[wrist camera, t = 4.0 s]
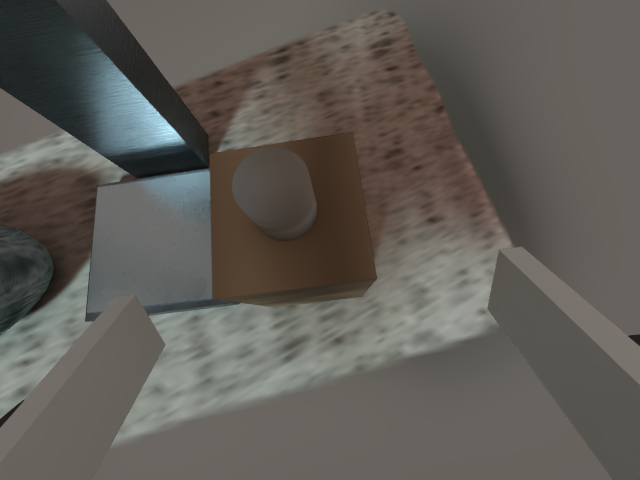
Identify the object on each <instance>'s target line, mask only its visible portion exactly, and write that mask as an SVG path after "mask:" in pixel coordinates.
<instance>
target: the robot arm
mask: <svg viewBox="0 0 640 480" xmlns="http://www.w3.org/2000/svg"><path fill="white" fill-rule="evenodd" d="M487 309H488V310H489V312H490V313H491V314H492V316H493V317H494V318H495V320H496V321H497V323H498V324H499V325H500V327H501V328H502V329H503V330H504V332H505V333H506V335H507V336H508V338H509V339H510V340H511V342H512V343H513V344H514V346H515V347H516V349H517V350H518V351H519V353H520V354H521V355H522V357H523V358H524V359H525V361H526V362H527V364H528V365H529V366H530V368H531V369H532V370H533V372H534V373H535V375H536V376H537V377H538V379H539V380H540V381H541V383H542V384H543V385H544V387H545V388H546V389H547V391H548V392H549V394H550V395H551V396H552V398H553V399H554V401H555V402H556V403H557V405H558V406H559V407H560V409H561V410H562V411H563V413H564V414H565V415H566V417H567V418H568V420H569V421H570V422H571V424H572V425H573V427H574V428H575V429H576V431H577V432H578V433H579V435H580V436H581V438H582V439H583V440H584V441H585V443H586V444H587V446H588V447H589V448H590V450H591V451H592V453H593V454H594V455H595V457H596V458H597V459H598V461H599V462H600V463H601V465H602V466H603V468H604V469H605V470H606V472H607V473H608V474H609V476H610V477H611V479H612V480H640V335H631V336H627V335H626V334H625V333H623V332H622V331H621V330H620V329H619V328H617V327H616V326H615V325H614V324H613V323H611V322H610V321H609V320H608V319H607V318H606V317H604V316H603V315H602V314H601V313H600V312H598V311H597V310H596V309H595V308H594V307H592V306H591V305H590V304H589V303H588V302H586V301H585V300H584V299H583V298H582V297H581V296H579V295H578V294H577V293H576V292H575V291H574V290H572V289H571V288H570V287H569V286H568V285H567V284H565V283H564V282H563V281H562V280H560V279H559V278H558V277H557V276H556V275H555V274H553V273H552V272H551V271H550V270H549V269H548V268H546V267H545V266H544V265H543V264H542V263H540V262H539V261H538V260H537V259H536V258H535V257H533V256H532V255H531V254H530V253H529V252H527V251H526V250H525V249H524V248H522V247H516V248H508V249H500V250H499V253H498V258H497V263H496V268H495V273H494V278H493V283H492V288H491V293H490V298H489V303H488V308H487ZM164 346H165V343H164V342H163V340H162V338H161V337H160V335H159V333H158V331H157V330H156V328H155V326H154V325H153V323H152V321H151V319H150V318H149V316H148V314H147V313H146V311H145V309H144V307H143V306H142V304H141V302H140V301H139V299H138V297H137V296H136V294H133V295H124V296H116V297H115V298H114V299H113V300H112V302H111V303H110V304H109V305H108V306H107V307H106V308H105V310H104V311H103V312H102V313H101V314H100V315H99V316H98V317H97V319H96V320H95V321H94V322H93V323H92V324H91V325H90V327H89V328H88V329H87V330H86V331H85V332H84V333H83V334H82V336H81V337H80V338H79V339H78V340H77V341H76V342H75V344H74V345H73V346H72V347H71V348H70V349H69V350H68V352H67V353H66V354H65V355H64V356H63V357H62V358H61V359H60V361H59V362H58V363H57V364H56V365H55V366H54V367H53V369H52V370H51V371H50V372H49V373H48V374H47V375H46V377H45V378H44V379H43V380H42V381H41V382H40V383H39V384H38V386H37V387H36V388H35V389H34V390H33V391H32V392H31V394H30V395H29V396H28V397H27V398H26V399H25V400H23V401H22V402H20V403H19V404H18V405H17V406H15V407H14V408H13V409H12V410H11V411H9V412H8V413H7V414H6V415H4V416H3V417H2V418H1V419H0V480H92V479H93V477H94V475H95V473H96V471H97V470H98V468H99V466H100V464H101V462H102V460H103V459H104V457H105V455H106V453H107V451H108V449H109V448H110V446H111V444H112V442H113V440H114V438H115V437H116V435H117V433H118V431H119V429H120V427H121V426H122V424H123V422H124V420H125V418H126V416H127V415H128V413H129V411H130V409H131V407H132V405H133V404H134V402H135V400H136V398H137V396H138V394H139V392H140V391H141V389H142V387H143V385H144V383H145V381H146V380H147V378H148V376H149V374H150V372H151V370H152V369H153V367H154V365H155V363H156V361H157V359H158V358H159V356H160V354H161V352H162V350H163V348H164Z"/></svg>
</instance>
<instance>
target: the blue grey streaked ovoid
mask: <svg viewBox="0 0 640 480" xmlns="http://www.w3.org/2000/svg"><path fill="white" fill-rule="evenodd" d="M53 270H54V268H53V261H52V258H51V255H50V254H49V252H48V250H47V249H46V248H45V246H44V245H43V244H42V243H40V242H39V241H38V240H36V239H35V238H33V237H31V236H29V235H27V234H25V233H24V232H22V231H20V230H18V229H15V228H11V227H7V226H4V225H0V335H1V334H2V333H4V332H5V331H7V330H8V329H10V328H11V327H12V326H13V325H14V324H15V323H17V322H18V321H19V320H20V319H21V318H22V317H24V316H25V315H26V314H27V313H28V312H29V311H30V309H31V308H32V307H33V306H34V305H35V304H36V303H37V302H38V300H39V299H40V298H41V297H42V296H43V294H44V293H45V292H46V290H47V287H48V285H49V283H50V280H51V278H52V275H53Z"/></svg>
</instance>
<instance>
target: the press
mask: <svg viewBox="0 0 640 480" xmlns="http://www.w3.org/2000/svg"><path fill="white" fill-rule="evenodd" d="M0 88H1V89H3V90H4V91H6V92H7V93H9V94H10V95H12V96H13V97H15V98H17V99H18V100H19V101H21V102H23V103H24V104H25V105H27V106H29V107H30V108H32V109H33V110H35V111H36V112H38V113H39V114H41V115H42V116H44V117H45V118H47V119H48V120H50V121H51V122H53V123H54V124H56V125H57V126H59V127H60V128H62V129H63V130H65V131H66V132H68V133H69V134H71V135H72V136H74V137H75V138H77V139H78V140H80V141H81V142H83V143H84V144H86V145H87V146H89V147H90V148H92V149H93V150H95V151H96V152H98V153H99V154H101V155H102V156H104V157H105V158H107V159H108V160H110V161H111V162H113V163H115V164H116V165H118V166H119V167H121V168H122V169H124V170H125V171H127V172H128V173H130V174H131V175H133V176H134V177H136V178H142V179H135V180H128V181H122V182H115V183H108V184H101V185H97V194H96V205H95V217H94V228H93V239H92V250H91V262H90V273H89V284H88V295H87V307H86V318H85V322H89V321H95V320H96V319H97V317H98V316H99V315H100V314H101V313H102V312H103V311H104V310H105V308H106V307H107V306H108V305H109V304H110V303H111V302H112V300H113V299H114V298H115V297H116V296H124V295H133V294H136V296H137V297H138V299H139V301H140V302H141V304H142V306H143V307H144V309H145V311H146V313H147V314H148V316H149V315H157V314H165V313H173V312H181V311H189V310H197V309H205V308H213V307H221V306H229V305H238V304H239V303H238V302H231V301H223V300H215V299H212V259H211V209H210V168H209V150H208V134H207V133H206V132H205V130H204V129H203V128H202V126H201V125H200V124H199V122H198V121H197V120H196V118H195V117H194V116H193V114H192V113H191V112H190V110H189V109H188V108H187V106H186V105H185V104H184V102H183V101H182V100H181V98H180V97H179V96H178V94H177V93H176V92H175V90H174V89H173V88H172V87H171V85H170V84H169V83H168V81H167V80H166V79H165V77H164V76H163V75H162V73H161V72H160V71H159V69H158V68H157V67H156V65H155V64H154V63H153V61H152V60H151V59H150V57H149V56H148V55H147V53H146V52H145V51H144V49H143V48H142V47H141V45H140V44H139V43H138V41H137V40H136V39H135V37H134V36H133V35H132V34H131V32H130V31H129V30H128V28H127V27H126V26H125V25H124V23H123V22H122V20H121V19H120V18H119V16H118V15H117V14H116V12H115V11H114V10H113V8H112V7H111V6H110V5H109V3H108V2H107V1H106V0H0ZM203 168H209V169H203ZM196 169H202V170H196ZM190 170H196V171H190ZM183 171H189V172H183ZM176 172H182V173H176ZM169 173H175V174H169ZM163 174H169V175H163ZM156 175H162V176H156ZM149 176H155V177H149ZM143 177H148V178H143Z"/></svg>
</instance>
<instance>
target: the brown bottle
mask: <svg viewBox="0 0 640 480" xmlns="http://www.w3.org/2000/svg"><path fill="white" fill-rule="evenodd" d="M209 158H210V209H211V259H212V299H215V300H223V301H231V302H238V303H246V304H254V305H261V306H269V307H281V306H289V305H298V304H306V303H314V302H322V301H330V300H338V299H346V298H354V297H362V295H363V294H364V293H365V292H366V291H367V290H368V288H369V287H370V286H371V285H372V284H373V282H374V281H375V280H376V279H377V276H376V270H375V264H374V258H373V252H372V246H371V240H370V234H369V228H368V222H367V216H366V210H365V204H364V198H363V192H362V186H361V180H360V174H359V168H358V162H357V156H356V150H355V144H354V138H353V132H350V133H343V134H337V135H330V136H323V137H317V138H310V139H303V140H297V141H290V142H283V143H277V144H270V145H264V146H257V147H250V148H244V149H237V150H230V151H224V152H217V153H210V154H209Z"/></svg>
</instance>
